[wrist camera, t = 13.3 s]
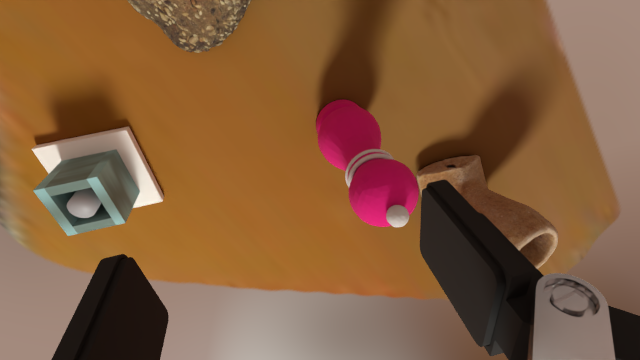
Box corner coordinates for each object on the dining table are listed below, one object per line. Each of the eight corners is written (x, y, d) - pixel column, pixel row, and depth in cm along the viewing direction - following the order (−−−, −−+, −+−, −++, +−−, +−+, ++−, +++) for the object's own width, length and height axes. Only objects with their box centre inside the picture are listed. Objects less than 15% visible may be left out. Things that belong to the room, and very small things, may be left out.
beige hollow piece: (495, 206, 56) (567, 275, 43) (429, 235, 56) (482, 311, 44) (486, 132, 47) (573, 190, 35) (409, 167, 48) (467, 236, 36)
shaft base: (36, 145, 37) (-3, 178, 31) (128, 126, 37) (107, 155, 32) (84, 214, 42) (59, 253, 36) (164, 196, 43) (151, 232, 37)
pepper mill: (319, 155, 44) (364, 267, 27) (305, 104, 40) (348, 200, 23) (371, 139, 44) (446, 242, 28) (362, 87, 40) (445, 171, 24)
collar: (61, 160, 37) (33, 190, 32) (116, 149, 38) (96, 176, 33) (89, 203, 40) (68, 235, 35) (139, 191, 41) (125, 222, 36)
